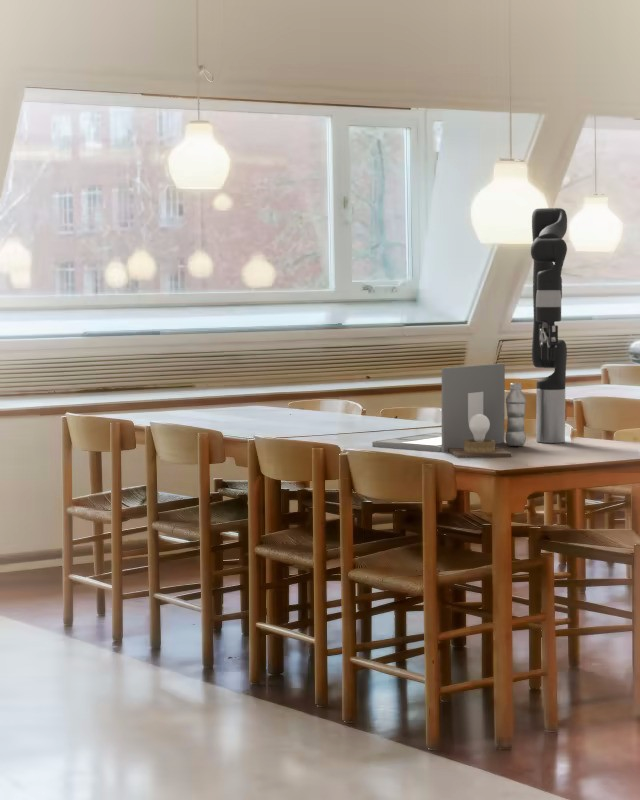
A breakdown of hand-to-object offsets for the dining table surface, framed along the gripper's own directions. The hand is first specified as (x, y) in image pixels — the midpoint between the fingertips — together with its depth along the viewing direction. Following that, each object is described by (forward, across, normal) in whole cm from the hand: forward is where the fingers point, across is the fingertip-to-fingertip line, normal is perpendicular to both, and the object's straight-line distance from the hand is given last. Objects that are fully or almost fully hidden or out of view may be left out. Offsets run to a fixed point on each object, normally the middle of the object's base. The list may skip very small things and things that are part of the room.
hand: (548, 359), depth 391 cm
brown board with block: (+28, -1, +21) cm, 35 cm away
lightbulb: (+27, 0, +21) cm, 34 cm away
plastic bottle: (+28, +18, +6) cm, 34 cm away
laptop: (+29, +27, +29) cm, 49 cm away
